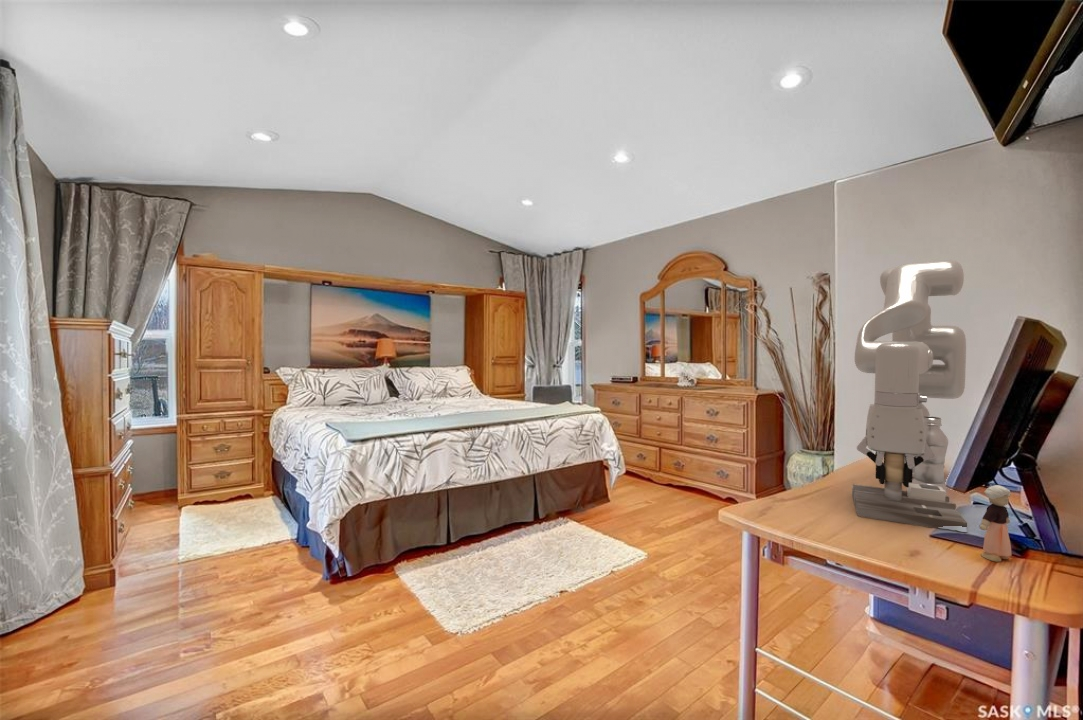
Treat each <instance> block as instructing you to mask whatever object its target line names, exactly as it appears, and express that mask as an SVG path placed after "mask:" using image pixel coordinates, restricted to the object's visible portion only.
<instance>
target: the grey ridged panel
mask: <svg viewBox="0 0 1083 720" xmlns="http://www.w3.org/2000/svg"><path fill="white" fill-rule="evenodd" d="M884 491H885V487H878V486H872V485H871V486H869V485H862V484H854V483H853V484H852V488H851V497H852V500H854V501H853V505H854V506H855V510H856V511H855V512H856V514H857V515H856V516H857V517H860V518H861V517H862V518H868V519H872V520H873V519H875V520H879V521H887V522H894V523H899V524H900V523H901V524H906V525H914V526H920V527H926V528H933V529H938V527H943V526H962V527H967V528H968V522H967V521H966V520H965V519H964V518H963V516H962V515H961V514H960V513H959V512H958V511H957V509H956V508H957V505H956V503H954V502H950V496H949V495H948V496H947V495H946V496H945V502H940V501H933V500H925V499H918V498H910V497H908V496H907V490H903V489H902V498H901V500H891V499H887V498H885V497H884Z"/></svg>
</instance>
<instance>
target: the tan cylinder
mask: <svg viewBox="0 0 1083 720" xmlns="http://www.w3.org/2000/svg"><path fill="white" fill-rule="evenodd" d="M904 459H905V454H898V453H888V452H885V453H884V457H883V463H884V466H885V482H884V488H885V491H884V497H885V498H887V499H891V500H901V498H902V490H903V484H902V482H904Z"/></svg>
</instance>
